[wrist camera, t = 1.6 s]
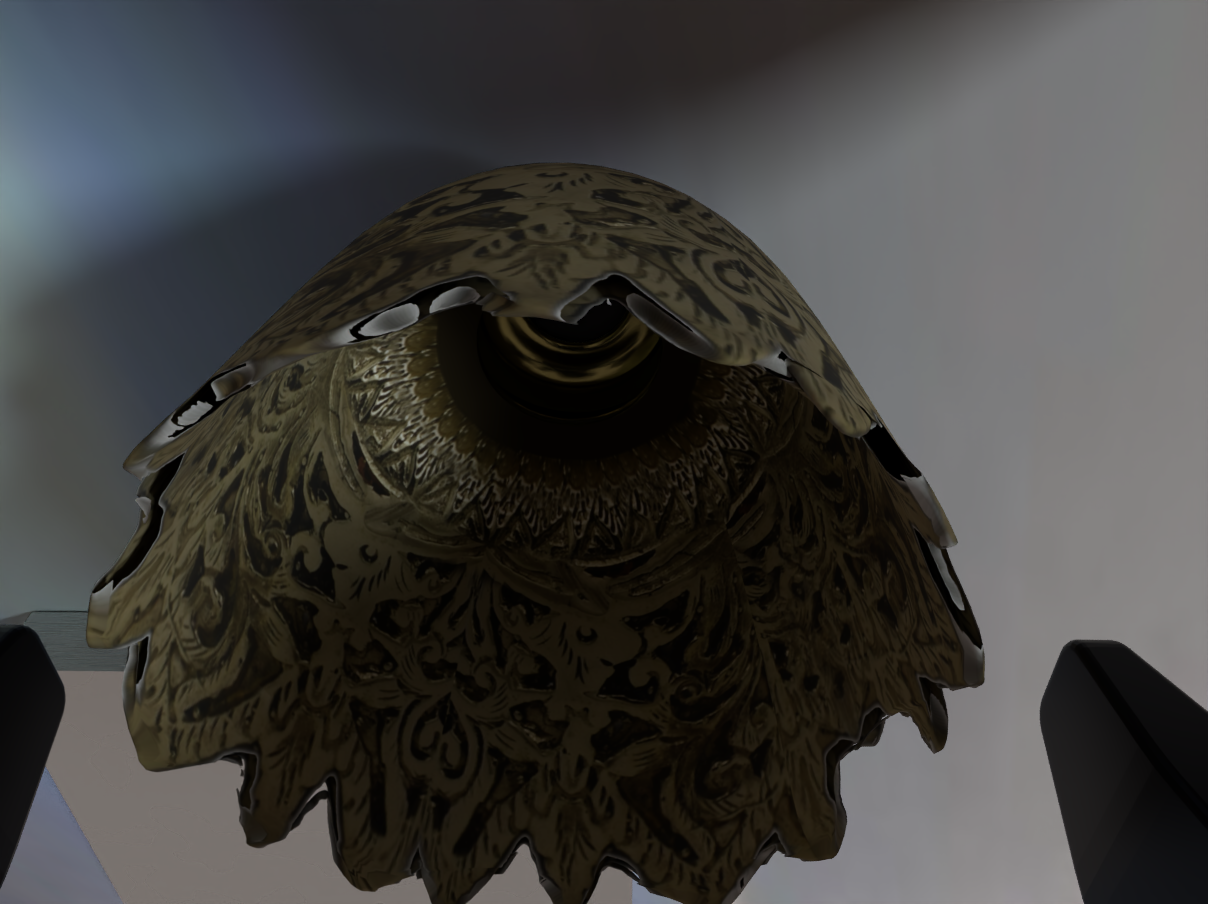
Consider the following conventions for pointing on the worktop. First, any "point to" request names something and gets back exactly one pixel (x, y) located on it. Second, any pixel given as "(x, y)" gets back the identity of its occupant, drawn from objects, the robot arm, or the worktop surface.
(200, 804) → the flat plate
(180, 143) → the worktop surface
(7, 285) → the worktop surface
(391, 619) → the cup
